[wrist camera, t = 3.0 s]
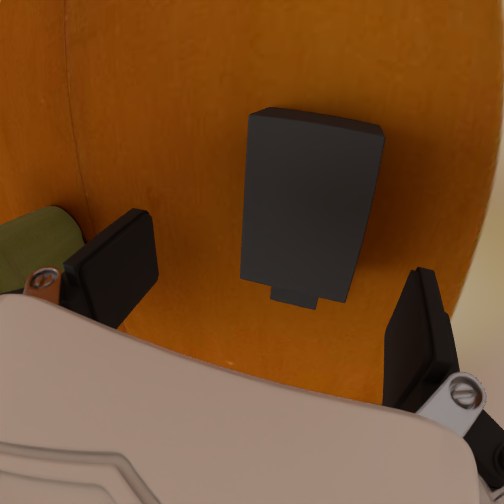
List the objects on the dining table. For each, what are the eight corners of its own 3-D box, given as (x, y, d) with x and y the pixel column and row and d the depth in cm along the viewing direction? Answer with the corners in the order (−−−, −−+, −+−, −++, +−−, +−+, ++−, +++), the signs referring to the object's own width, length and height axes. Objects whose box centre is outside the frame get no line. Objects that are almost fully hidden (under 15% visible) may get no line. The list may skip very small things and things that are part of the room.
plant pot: (114, 306, 30) (44, 386, 21) (39, 264, 31) (-28, 322, 22) (106, 198, 23) (-6, 278, 14) (22, 169, 25) (-68, 222, 16)
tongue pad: (380, 125, 15) (385, 136, 12) (340, 299, 21) (334, 336, 18) (268, 106, 16) (248, 114, 13) (255, 280, 22) (237, 312, 20)
